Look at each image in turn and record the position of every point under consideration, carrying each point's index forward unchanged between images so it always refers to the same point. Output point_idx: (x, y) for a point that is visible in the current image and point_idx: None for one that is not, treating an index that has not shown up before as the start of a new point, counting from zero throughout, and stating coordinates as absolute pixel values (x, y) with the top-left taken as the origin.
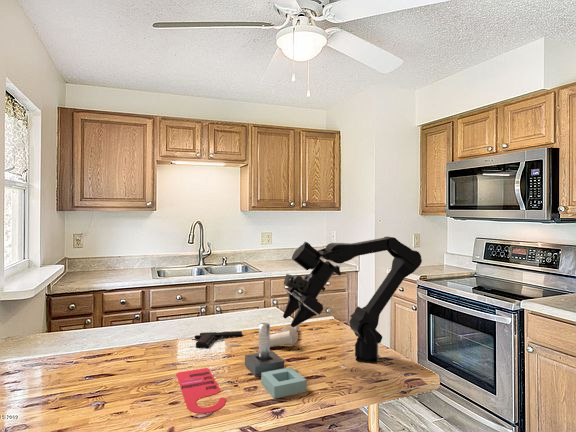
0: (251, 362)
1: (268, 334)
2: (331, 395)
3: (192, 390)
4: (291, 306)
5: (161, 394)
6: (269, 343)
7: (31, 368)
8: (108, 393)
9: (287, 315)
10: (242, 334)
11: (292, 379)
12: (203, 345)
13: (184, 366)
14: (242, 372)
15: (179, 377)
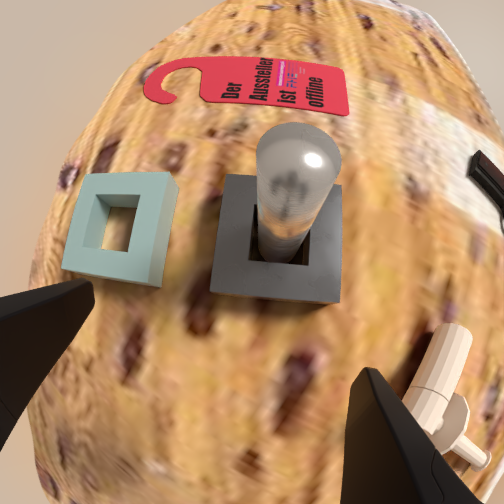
0: None
1: (260, 198)
2: None
3: (241, 67)
4: (378, 497)
5: (258, 40)
6: (266, 229)
7: (403, 9)
8: (300, 13)
9: (354, 413)
10: None
11: (81, 234)
12: (474, 163)
13: (374, 90)
14: None
15: (316, 65)
